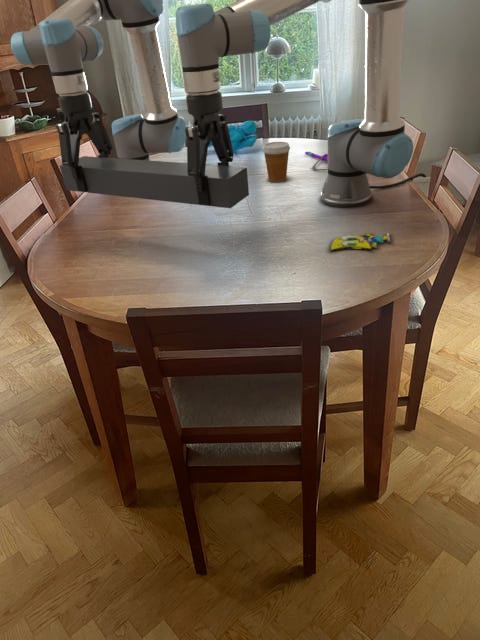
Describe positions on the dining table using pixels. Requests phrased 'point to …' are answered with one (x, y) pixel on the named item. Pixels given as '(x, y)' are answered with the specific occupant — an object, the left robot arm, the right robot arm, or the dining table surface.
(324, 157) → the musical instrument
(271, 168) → the disposable coffee cup
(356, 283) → the dining table surface
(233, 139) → the toy
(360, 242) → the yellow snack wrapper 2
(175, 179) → the thick board
